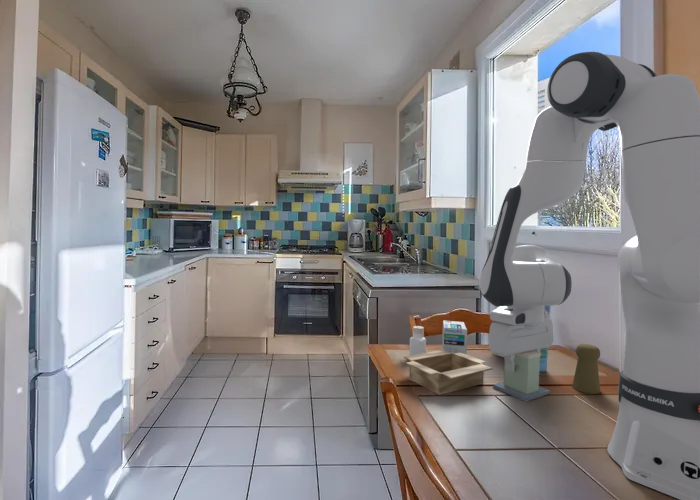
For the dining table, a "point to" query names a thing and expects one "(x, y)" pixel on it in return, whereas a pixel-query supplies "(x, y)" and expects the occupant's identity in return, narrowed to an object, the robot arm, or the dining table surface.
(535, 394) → the trivet
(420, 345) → the pepper shaker
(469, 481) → the dining table surface
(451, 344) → the light bulb box
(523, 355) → the tea tin
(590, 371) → the pepper shaker
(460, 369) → the carton
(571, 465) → the dining table surface
